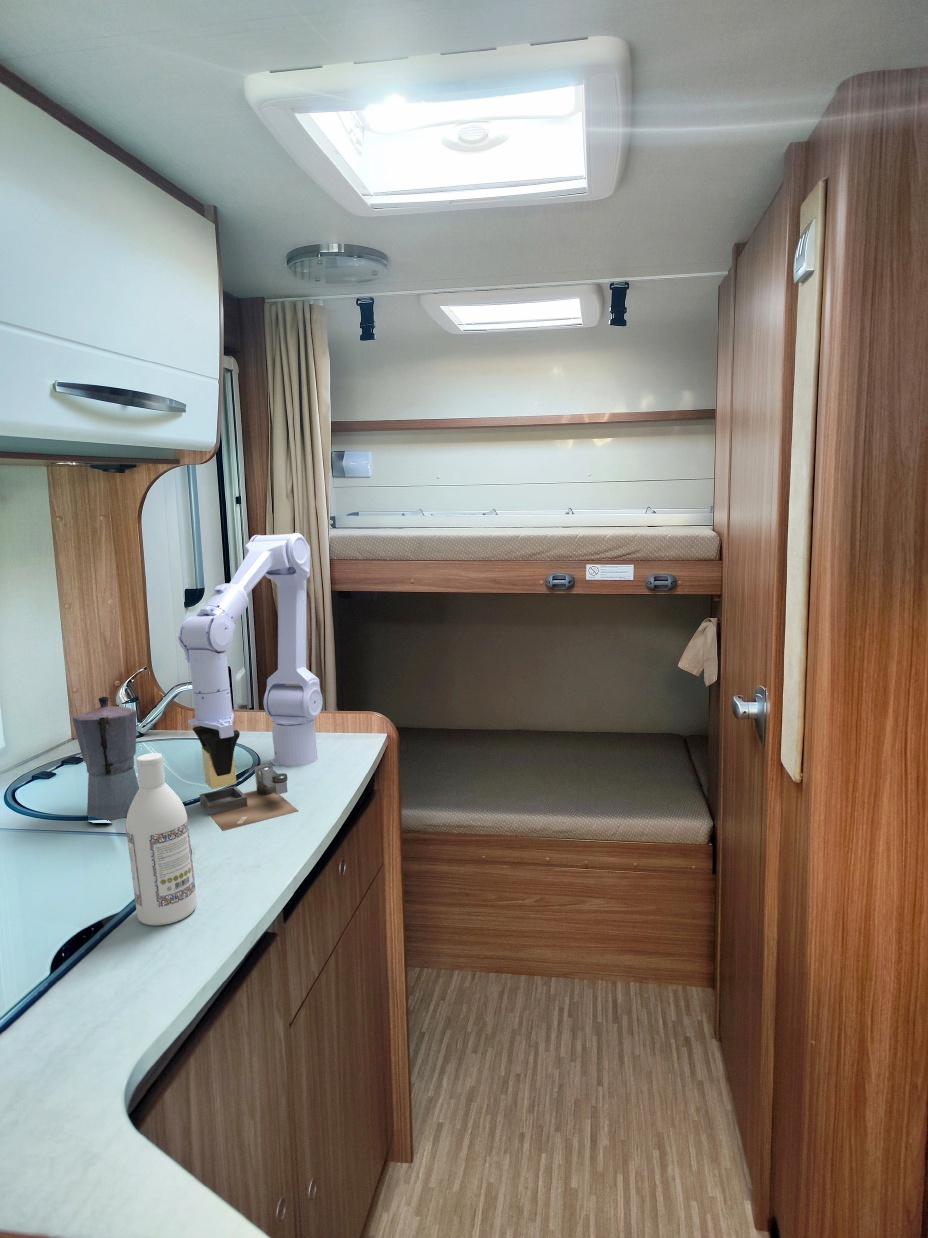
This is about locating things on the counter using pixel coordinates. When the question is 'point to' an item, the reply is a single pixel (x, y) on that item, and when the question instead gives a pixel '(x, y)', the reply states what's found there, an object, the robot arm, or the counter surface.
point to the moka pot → (108, 758)
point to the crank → (270, 780)
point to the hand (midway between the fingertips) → (220, 770)
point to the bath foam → (159, 848)
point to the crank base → (243, 807)
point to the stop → (211, 775)
